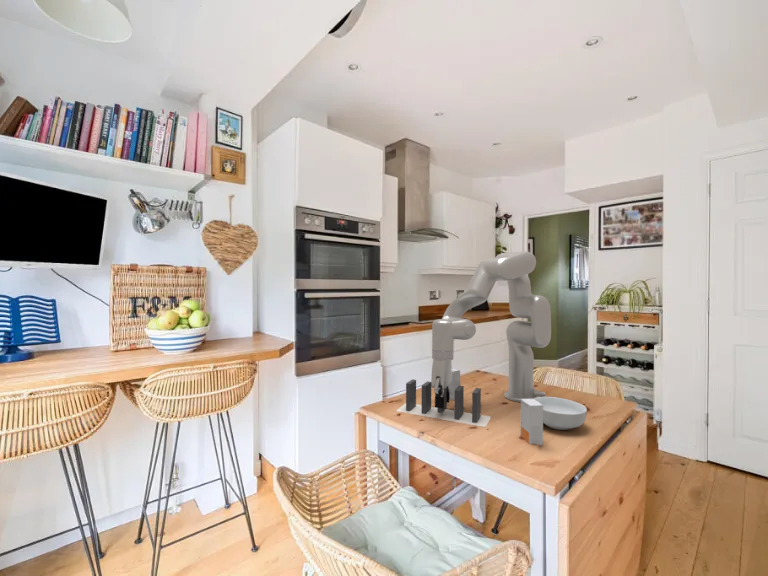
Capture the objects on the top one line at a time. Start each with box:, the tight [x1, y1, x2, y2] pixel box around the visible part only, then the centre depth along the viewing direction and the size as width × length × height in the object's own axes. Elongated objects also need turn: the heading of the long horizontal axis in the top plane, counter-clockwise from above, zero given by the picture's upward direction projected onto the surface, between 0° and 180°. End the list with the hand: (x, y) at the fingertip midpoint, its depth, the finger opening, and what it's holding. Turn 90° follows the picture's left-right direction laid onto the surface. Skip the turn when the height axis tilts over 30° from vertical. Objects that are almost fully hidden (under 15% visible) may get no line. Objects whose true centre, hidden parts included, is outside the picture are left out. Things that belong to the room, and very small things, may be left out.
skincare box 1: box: [449, 368, 461, 401], centre depth 146 cm, size 6×4×12 cm
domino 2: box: [421, 380, 432, 414], centre depth 131 cm, size 2×6×10 cm, turn 154°
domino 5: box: [471, 387, 482, 423], centre depth 123 cm, size 2×6×10 cm, turn 154°
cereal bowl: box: [534, 396, 588, 431], centre depth 120 cm, size 17×17×7 cm
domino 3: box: [437, 386, 448, 413], centre depth 128 cm, size 2×6×10 cm, turn 153°
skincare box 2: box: [520, 399, 544, 446], centre depth 108 cm, size 6×4×12 cm
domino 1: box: [405, 379, 417, 411], centre depth 133 cm, size 2×6×10 cm, turn 154°
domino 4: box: [454, 385, 465, 420], centre depth 125 cm, size 2×6×10 cm, turn 154°
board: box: [395, 402, 492, 428], centre depth 128 cm, size 32×10×1 cm, turn 64°
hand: (442, 404), depth 128 cm, fingers closed on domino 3, 5 cm apart
